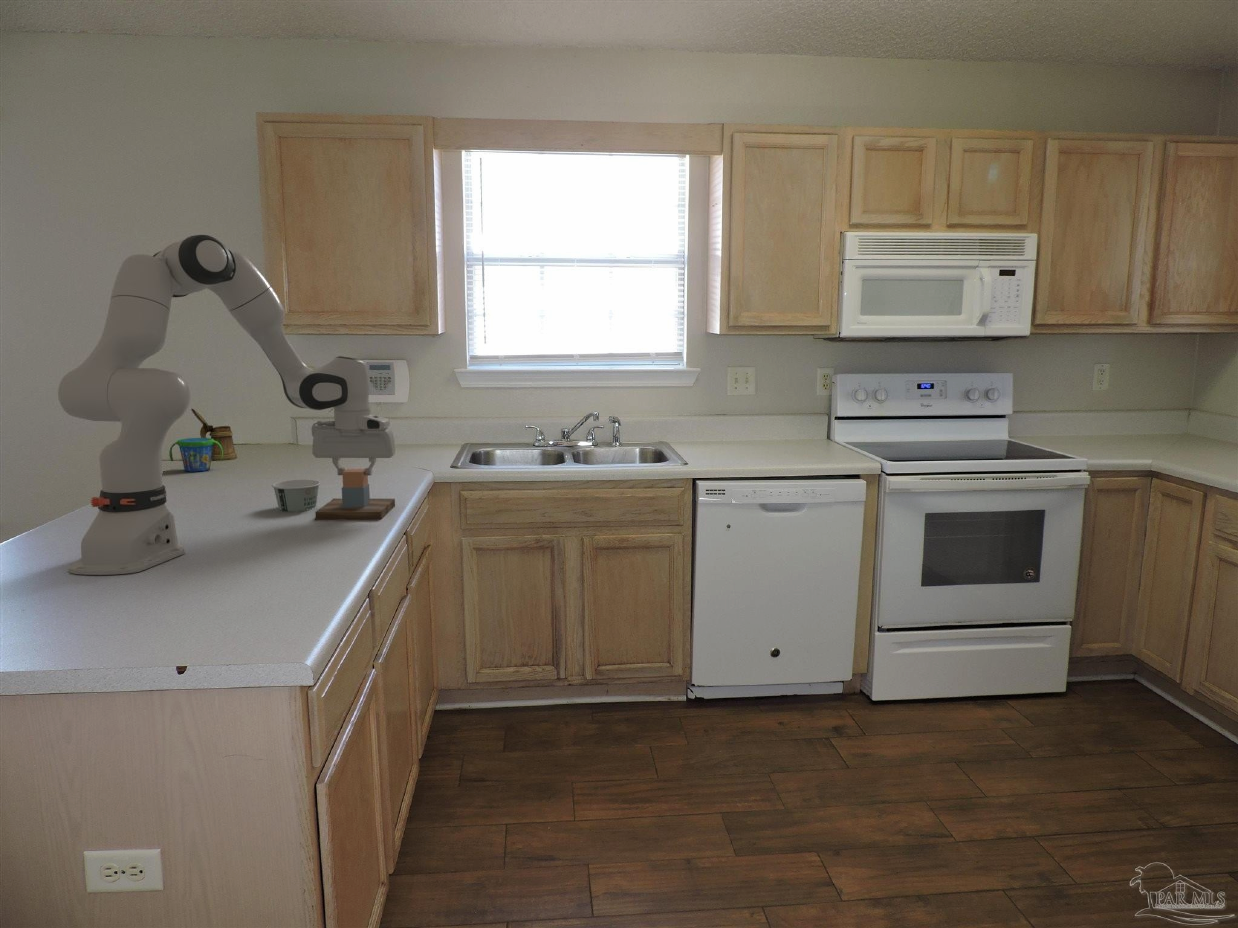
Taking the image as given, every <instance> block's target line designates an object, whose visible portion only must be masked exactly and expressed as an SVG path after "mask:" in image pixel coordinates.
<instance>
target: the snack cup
mask: <svg viewBox="0 0 1238 928" xmlns="http://www.w3.org/2000/svg"><path fill="white" fill-rule="evenodd" d="M214 443H216V444H217V445H218V446H219V447H220V449H221V458H220V459H221V460H220V461H223V460H222V457H223V449H222V446H221V445H220V444H219V443H218V442H217V441H214V440H213V439H212V438H211V437H206V438H201V437H189V438H188V437H187V438H186V437H185V438H180V439H178V440H177V441H175V442H174V443H173V444H171V446H170V447H169V454H168V455H169V459H170V461H171V462H173V461H174V458H173V447H174V446H175V445H177V446H178V447H179V452H180V457H181V460H182V464H183V468H184V471H186V472H190V473H193V472H195V473H198V472H207V471H209V470H211V463H212V460H211V455H212V449H213V445H214Z"/></svg>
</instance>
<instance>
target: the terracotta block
mask: <svg viewBox="0 0 1238 928" xmlns="http://www.w3.org/2000/svg"><path fill="white" fill-rule="evenodd" d="M341 476H342V487H343V488H363V487H365V486H366V485H367V484H369V477H368V476H369V475H365V468H346V469H345V471H343V472H342V475H341Z"/></svg>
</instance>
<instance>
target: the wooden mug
mask: <svg viewBox="0 0 1238 928" xmlns="http://www.w3.org/2000/svg"><path fill="white" fill-rule="evenodd" d="M191 413H193V415H194V416H195V418H197V420H199V422H200V423H201V424H202V426H201V428H200V431H199V434H200V438H207V433H209V434H208V435H209V437H210V438H212V439H213V440H214V441H217V442H218V443H219V444H220V445H221V446H222V449H223V457H222V460H221V459H220V458H221V449H220V447H219V446H218V445H217V444H216V443H214V445H213V449H212V455H211V461H231V460H235V459H238V455H237V453H236V450H235V445H234V439H233V434H234V433H233V430H232V429H231V426H229V425H222V426H221V425H220V426H215V427H214V425H212V424H208V422H207V421H206V419H205V418H204V417H203V416H202V415H201V414H200V413H199V412H198V411H196V409H194V408H191ZM230 459H231V460H230Z"/></svg>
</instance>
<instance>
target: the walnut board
mask: <svg viewBox="0 0 1238 928" xmlns="http://www.w3.org/2000/svg"><path fill="white" fill-rule="evenodd" d="M395 507H396V499H395V498H370V503H369V504H368V505H367V506H365V507H342V498H333V499H332V500H330V501H328V502H327V503H326V504H324V505H323V506H320V508H318V509H317V510H316V511H315V513H314V515H315V520H316V519H318V520H317V521H320V520H323V521H326V520H329V519H330V520H332V521H333V520H334V521H335V520H336V519H346V520H347V521H350V520H351V521H355V520H358V521H359V520H361V521H363V520H366V521H367V520H369V521H370V520H371V521H372V520H373V521H374V520H376V521H377V520H379V521H381V520H382V519H384V517H386V516H387V515H388V513H390V512H391V511H392V509H394V508H395ZM346 520H345V521H346ZM336 521H337V520H336Z"/></svg>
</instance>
